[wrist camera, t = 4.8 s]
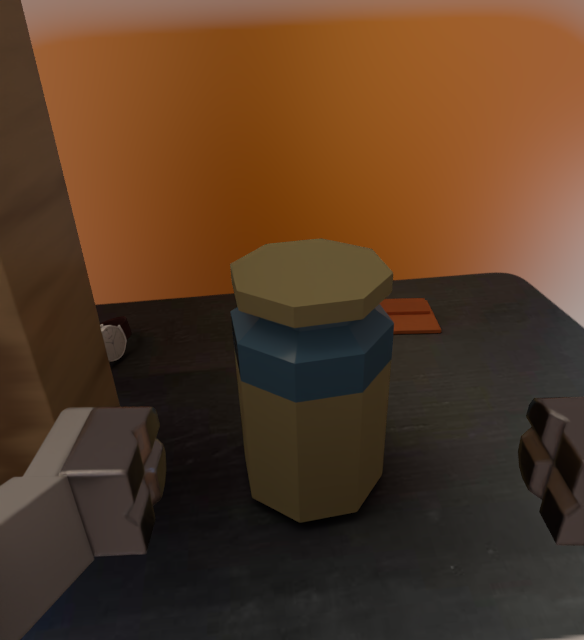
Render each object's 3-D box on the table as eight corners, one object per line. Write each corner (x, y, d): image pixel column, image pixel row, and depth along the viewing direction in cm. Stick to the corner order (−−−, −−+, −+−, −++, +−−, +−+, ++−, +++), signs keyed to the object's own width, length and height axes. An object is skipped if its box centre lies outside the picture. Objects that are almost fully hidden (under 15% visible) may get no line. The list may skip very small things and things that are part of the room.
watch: (91, 385, 44) (82, 349, 42) (49, 374, 46) (37, 339, 44) (145, 339, 50) (139, 306, 49) (106, 331, 52) (98, 299, 50)
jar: (261, 421, 40) (248, 234, 32) (384, 434, 38) (399, 240, 31) (225, 520, 32) (196, 303, 24) (377, 542, 30) (396, 316, 23)
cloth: (426, 303, 55) (427, 296, 55) (440, 333, 50) (441, 326, 50) (294, 307, 55) (294, 300, 55) (294, 336, 50) (294, 329, 50)
